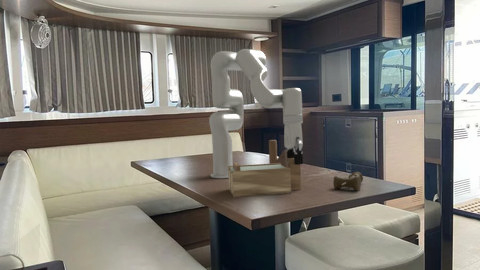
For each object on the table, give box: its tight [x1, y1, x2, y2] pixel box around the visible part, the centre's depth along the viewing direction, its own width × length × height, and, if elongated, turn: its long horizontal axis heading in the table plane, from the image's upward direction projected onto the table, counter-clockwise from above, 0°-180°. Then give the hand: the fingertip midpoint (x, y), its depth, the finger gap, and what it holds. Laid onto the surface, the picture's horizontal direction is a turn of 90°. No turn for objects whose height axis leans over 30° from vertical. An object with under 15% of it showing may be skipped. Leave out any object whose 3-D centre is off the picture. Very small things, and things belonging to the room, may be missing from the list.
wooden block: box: [268, 139, 288, 168], centre depth 164 cm, size 4×11×18 cm, turn 40°
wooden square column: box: [286, 158, 302, 191], centre depth 147 cm, size 5×5×12 cm
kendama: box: [333, 171, 364, 192], centre depth 145 cm, size 6×10×20 cm
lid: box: [230, 162, 285, 171], centre depth 144 cm, size 11×21×3 cm, turn 99°
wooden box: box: [228, 163, 292, 198], centre depth 144 cm, size 14×22×10 cm, turn 99°
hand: (294, 162), depth 146 cm, fingers open, 9 cm apart
